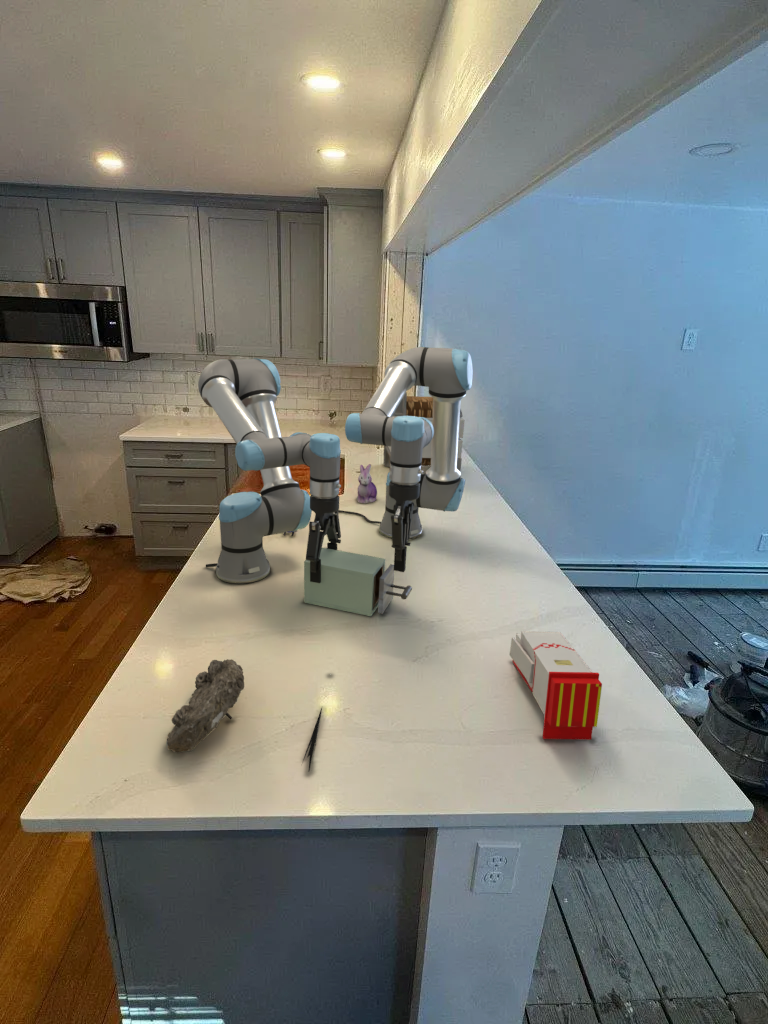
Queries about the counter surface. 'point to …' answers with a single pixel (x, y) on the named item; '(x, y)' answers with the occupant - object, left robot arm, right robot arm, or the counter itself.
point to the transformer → (425, 409)
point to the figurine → (366, 486)
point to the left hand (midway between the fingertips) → (323, 573)
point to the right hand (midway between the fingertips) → (399, 570)
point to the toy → (558, 683)
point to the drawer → (386, 588)
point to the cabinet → (344, 581)
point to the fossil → (206, 705)
